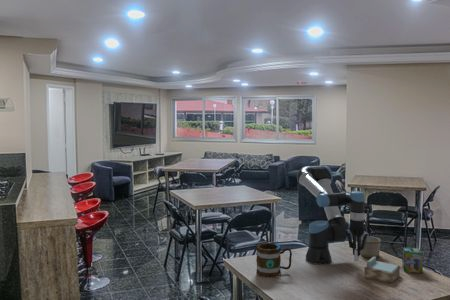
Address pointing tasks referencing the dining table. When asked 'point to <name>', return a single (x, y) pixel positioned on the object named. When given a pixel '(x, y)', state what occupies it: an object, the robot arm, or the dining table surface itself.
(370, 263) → the cover plate
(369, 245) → the planter
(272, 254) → the mug
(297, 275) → the dining table surface
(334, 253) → the dining table surface
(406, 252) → the chalk box
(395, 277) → the oak case
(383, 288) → the dining table surface
